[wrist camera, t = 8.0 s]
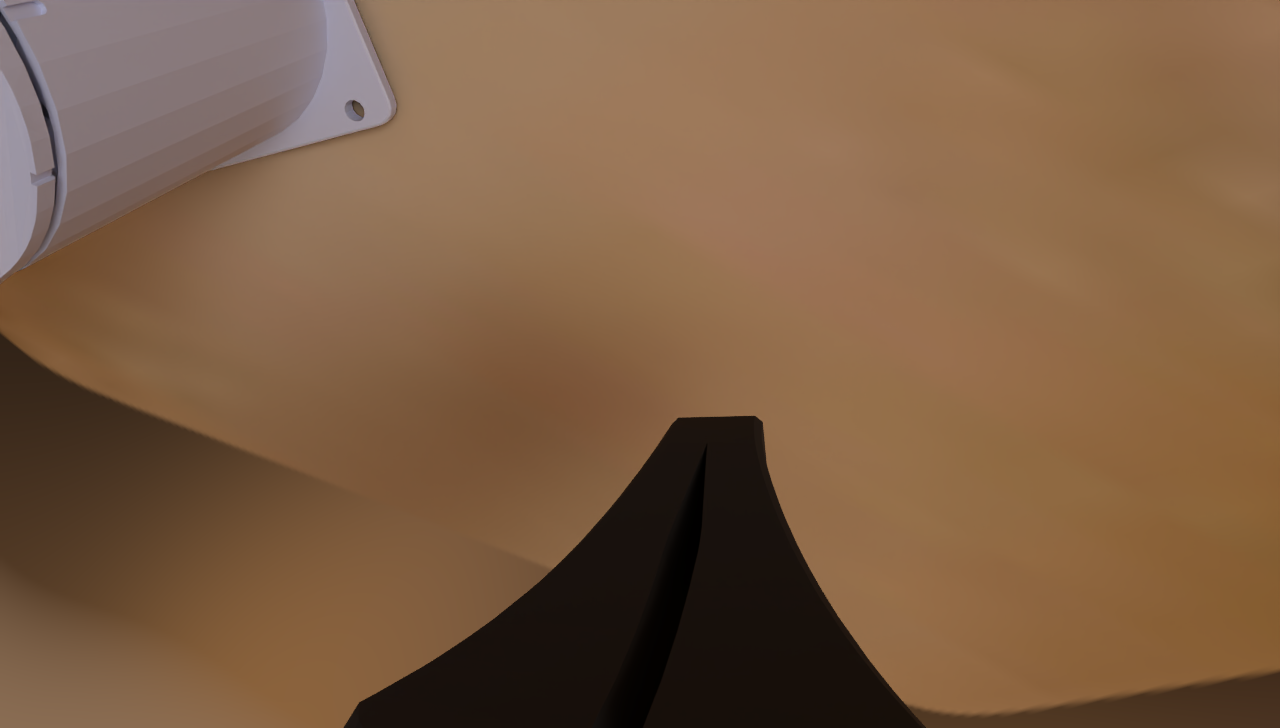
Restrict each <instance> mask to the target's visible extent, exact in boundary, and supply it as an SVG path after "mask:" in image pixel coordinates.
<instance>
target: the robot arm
mask: <svg viewBox="0 0 1280 728" xmlns="http://www.w3.org/2000/svg"><path fill="white" fill-rule="evenodd" d="M353 100H355V101H357V102H359V103H360V104H361V105H362V107H363V108H364V112H365V115H364V117H361V116H359V115H357V114H356V113H355V111H354V110H353V107H352V102H353ZM396 107H397V105H396V101H395V97H394V95H393V92H392V90H391V88H390V85H389V83H388V81H387V78H386V76H385V73H384V71H383V69H382V66H381V64H380V61H379V59H378V57H377V54H376V52H375V49H374V47H373V45H372V42H371V40H370V38H369V35H368V33H367V30H366V28H365V26H364V23H363V21H362V18H361V16H360V14H359V11H358V9H357V7H356V4H355V2H354V0H0V284H1V283H2V282H3V281H5V280H6V279H7V278H8V277H10V276H11V275H12V274H14V273H15V272H17V271H19V270H22V269H24V268H26V267H28V266H30V265H32V264H34V263H36V262H37V261H39V260H41V259H43V258H45V257H47V256H49V255H51V254H53V253H54V252H56V251H58V250H60V249H62V248H64V247H66V246H68V245H70V244H71V243H73V242H75V241H77V240H79V239H81V238H83V237H85V236H86V235H88V234H90V233H92V232H94V231H96V230H98V229H100V228H102V227H103V226H105V225H107V224H109V223H111V222H113V221H115V220H117V219H118V218H120V217H122V216H124V215H126V214H128V213H130V212H132V211H134V210H135V209H137V208H139V207H141V206H143V205H145V204H147V203H149V202H150V201H152V200H154V199H156V198H158V197H160V196H162V195H164V194H166V193H167V192H169V191H171V190H173V189H175V188H177V187H179V186H181V185H182V184H184V183H186V182H188V181H190V180H192V179H194V178H196V177H198V176H199V175H201V174H203V173H205V172H207V171H211V170H215V169H219V168H222V167H226V166H230V165H234V164H237V163H241V162H245V161H249V160H252V159H256V158H260V157H264V156H267V155H271V154H275V153H279V152H283V151H286V150H290V149H294V148H298V147H301V146H305V145H309V144H313V143H316V142H320V141H324V140H328V139H331V138H335V137H339V136H343V135H346V134H350V133H354V132H358V131H361V130H365V129H369V128H373V127H377V126H380V125H382V124H384V123H386V122H388V121H389V120H391V119H392V118H393V116H394V115H395V113H396ZM344 728H926V727H925V726H924V725H923V724H922V723H921V722H920V721H919V720H918V718H917V717H916V716H915V715H914V714H913V713H912V712H911V710H910V709H909V708H908V707H907V706H906V705H905V704H904V702H903V701H902V700H901V699H900V698H899V697H898V695H897V694H896V693H895V692H894V691H893V690H892V688H891V687H890V686H889V685H888V683H887V682H886V681H885V680H884V678H883V677H882V676H881V675H880V673H879V672H878V671H877V670H876V668H875V667H874V666H873V665H872V663H871V662H870V661H869V659H868V658H867V657H866V655H865V654H864V652H863V651H862V650H861V648H860V647H859V645H858V644H857V642H856V641H855V640H854V638H853V637H852V635H851V634H850V633H849V631H848V630H847V628H846V627H845V626H844V624H843V623H842V621H841V620H840V618H839V617H838V616H837V614H836V612H835V611H834V609H833V608H832V606H831V604H830V603H829V601H828V600H827V598H826V596H825V595H824V593H823V591H822V590H821V588H820V586H819V585H818V583H817V581H816V579H815V578H814V576H813V574H812V572H811V570H810V569H809V567H808V565H807V563H806V561H805V559H804V557H803V555H802V553H801V551H800V549H799V547H798V545H797V543H796V541H795V539H794V537H793V534H792V532H791V530H790V528H789V526H788V524H787V521H786V519H785V516H784V514H783V512H782V509H781V506H780V504H779V501H778V498H777V495H776V493H775V490H774V487H773V484H772V481H771V478H770V475H769V471H768V468H767V463H766V453H765V442H764V432H763V422H762V421H761V420H759V419H758V418H757V417H756V416H731V417H691V418H678V419H677V420H676V421H675V422H674V423H673V424H672V425H671V426H670V428H669V429H668V431H667V432H666V434H665V435H664V437H663V438H662V440H661V441H660V443H659V444H658V446H657V447H656V449H655V450H654V452H653V453H652V454H651V456H650V457H649V459H648V460H647V461H646V463H645V464H644V465H643V467H642V468H641V470H640V471H639V472H638V474H637V475H636V476H635V477H634V479H633V480H632V481H631V483H630V484H629V485H628V487H627V488H626V489H625V490H624V492H623V493H622V494H621V496H620V497H619V498H618V499H617V501H616V502H615V503H614V504H613V505H612V507H611V508H610V509H609V510H608V511H607V512H606V514H605V515H604V516H603V517H602V518H601V519H600V520H599V522H598V523H597V524H596V525H595V526H594V527H593V528H592V530H591V531H590V532H589V533H588V534H587V535H586V536H585V537H584V539H583V540H582V541H581V542H580V543H579V544H578V545H577V546H576V547H575V548H574V549H573V550H572V551H571V552H570V553H569V554H568V555H567V556H566V557H565V558H564V559H563V560H562V561H561V562H560V563H559V564H558V565H557V566H556V567H555V568H554V569H553V570H552V571H551V572H549V573H548V574H547V575H546V576H545V577H544V578H543V579H542V580H541V581H540V582H539V583H537V584H536V585H535V586H534V587H533V588H532V589H530V590H529V591H528V592H527V593H526V594H524V595H523V596H522V597H520V598H519V599H518V600H517V601H516V602H514V603H513V604H512V605H511V606H509V607H508V608H507V609H506V610H504V611H503V612H502V613H501V614H499V615H498V616H497V617H496V618H495V619H493V620H492V621H490V622H489V623H488V624H486V625H485V626H483V627H482V628H481V629H479V630H478V631H476V632H475V633H473V634H472V635H471V636H469V637H468V638H466V639H465V640H463V641H462V642H461V643H459V644H457V645H456V646H454V647H453V648H451V649H450V650H448V651H447V652H445V653H444V654H442V655H441V656H439V657H438V658H436V659H435V660H433V661H431V662H430V663H428V664H426V665H425V666H423V667H422V668H420V669H418V670H416V671H415V672H413V673H411V674H409V675H408V676H406V677H404V678H402V679H400V680H399V681H397V682H395V683H394V684H392V685H390V686H388V687H387V688H385V689H383V690H381V691H380V692H378V693H376V694H374V695H372V696H370V697H369V698H367V699H365V700H363V701H361V702H359V704H358V705H357V707H356V709H355V710H354V712H353V714H352V715H351V717H350V718H349V720H348V722H347V723H346V725H345V726H344Z"/></svg>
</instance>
